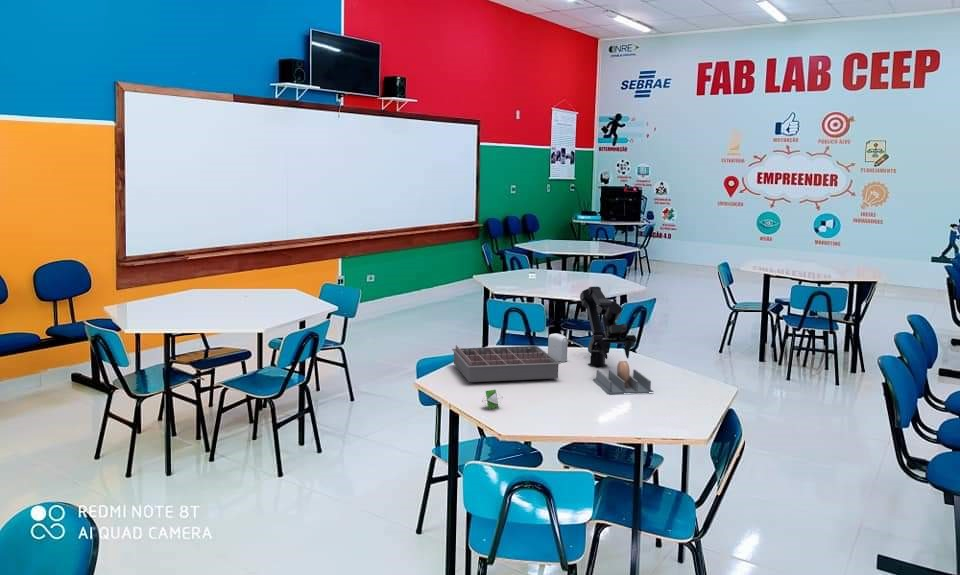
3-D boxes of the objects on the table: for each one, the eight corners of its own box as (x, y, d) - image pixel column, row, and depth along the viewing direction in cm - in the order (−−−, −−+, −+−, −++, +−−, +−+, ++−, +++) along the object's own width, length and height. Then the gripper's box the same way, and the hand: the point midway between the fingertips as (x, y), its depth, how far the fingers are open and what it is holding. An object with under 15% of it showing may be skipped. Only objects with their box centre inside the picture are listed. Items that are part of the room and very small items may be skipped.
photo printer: (546, 358, 356) (547, 332, 354) (552, 357, 359) (553, 331, 357) (561, 362, 348) (562, 336, 347) (568, 361, 351) (569, 335, 349)
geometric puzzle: (476, 399, 283) (483, 386, 278) (492, 396, 286) (499, 383, 281) (484, 414, 279) (491, 401, 274) (500, 412, 282) (507, 399, 277)
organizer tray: (560, 381, 318) (561, 358, 316) (467, 386, 308) (467, 362, 307) (536, 362, 348) (537, 341, 347) (451, 366, 339) (451, 344, 337)
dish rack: (593, 380, 320) (593, 369, 319) (636, 379, 323) (636, 368, 322) (607, 394, 300) (608, 382, 300) (653, 393, 303) (654, 381, 303)
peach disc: (615, 382, 316) (616, 358, 314) (622, 381, 316) (623, 358, 315) (622, 388, 307) (623, 364, 305) (630, 388, 307) (631, 364, 306)
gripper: (594, 316, 319) (600, 348, 310) (636, 316, 322) (644, 347, 313) (587, 331, 328) (594, 362, 319) (629, 330, 331) (636, 361, 322)
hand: (617, 358), depth 318 cm, fingers open, 9 cm apart
